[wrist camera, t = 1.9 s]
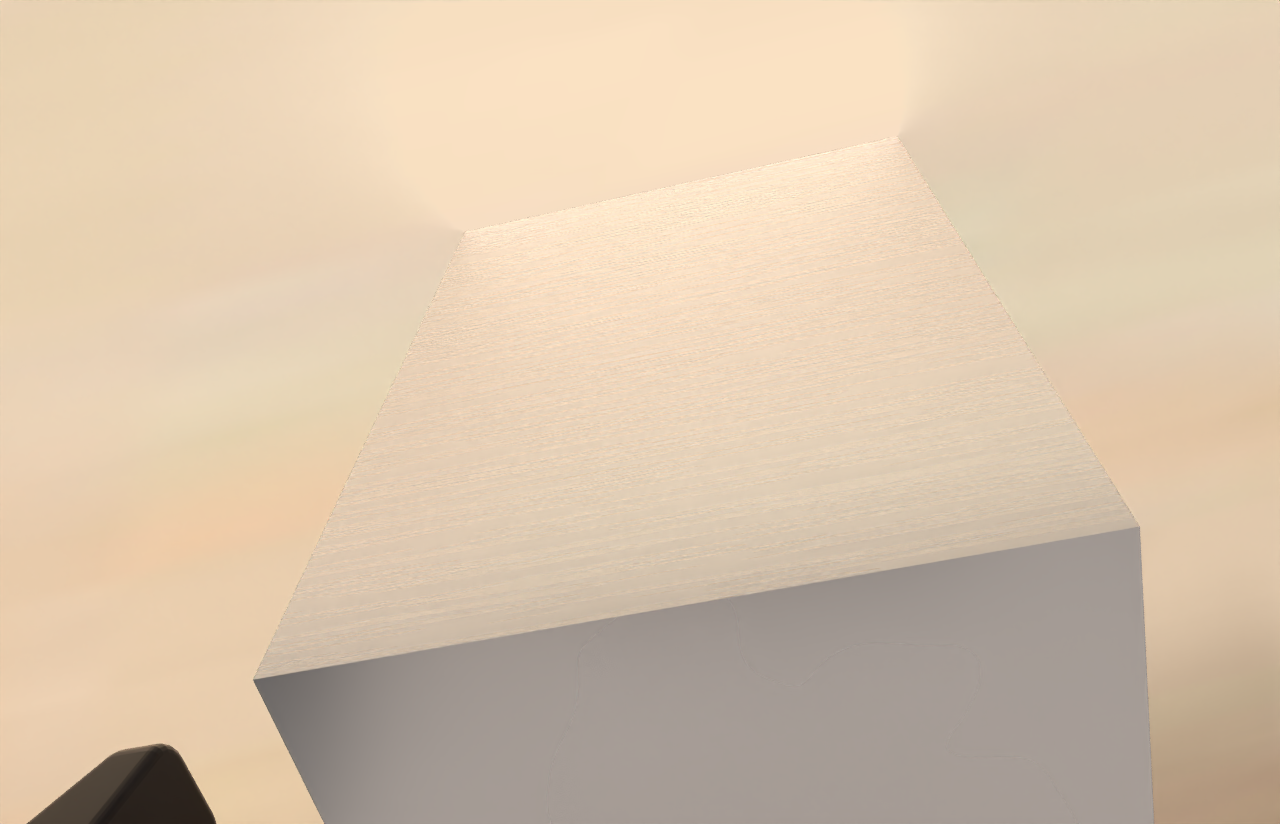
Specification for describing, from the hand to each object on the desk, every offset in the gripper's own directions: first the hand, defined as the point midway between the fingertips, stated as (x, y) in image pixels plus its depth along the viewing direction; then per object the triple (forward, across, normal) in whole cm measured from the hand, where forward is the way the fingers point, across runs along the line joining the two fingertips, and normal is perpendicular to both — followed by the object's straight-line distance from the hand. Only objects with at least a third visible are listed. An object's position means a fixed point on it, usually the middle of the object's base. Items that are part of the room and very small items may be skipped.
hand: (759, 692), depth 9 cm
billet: (+5, 0, 0) cm, 5 cm away
